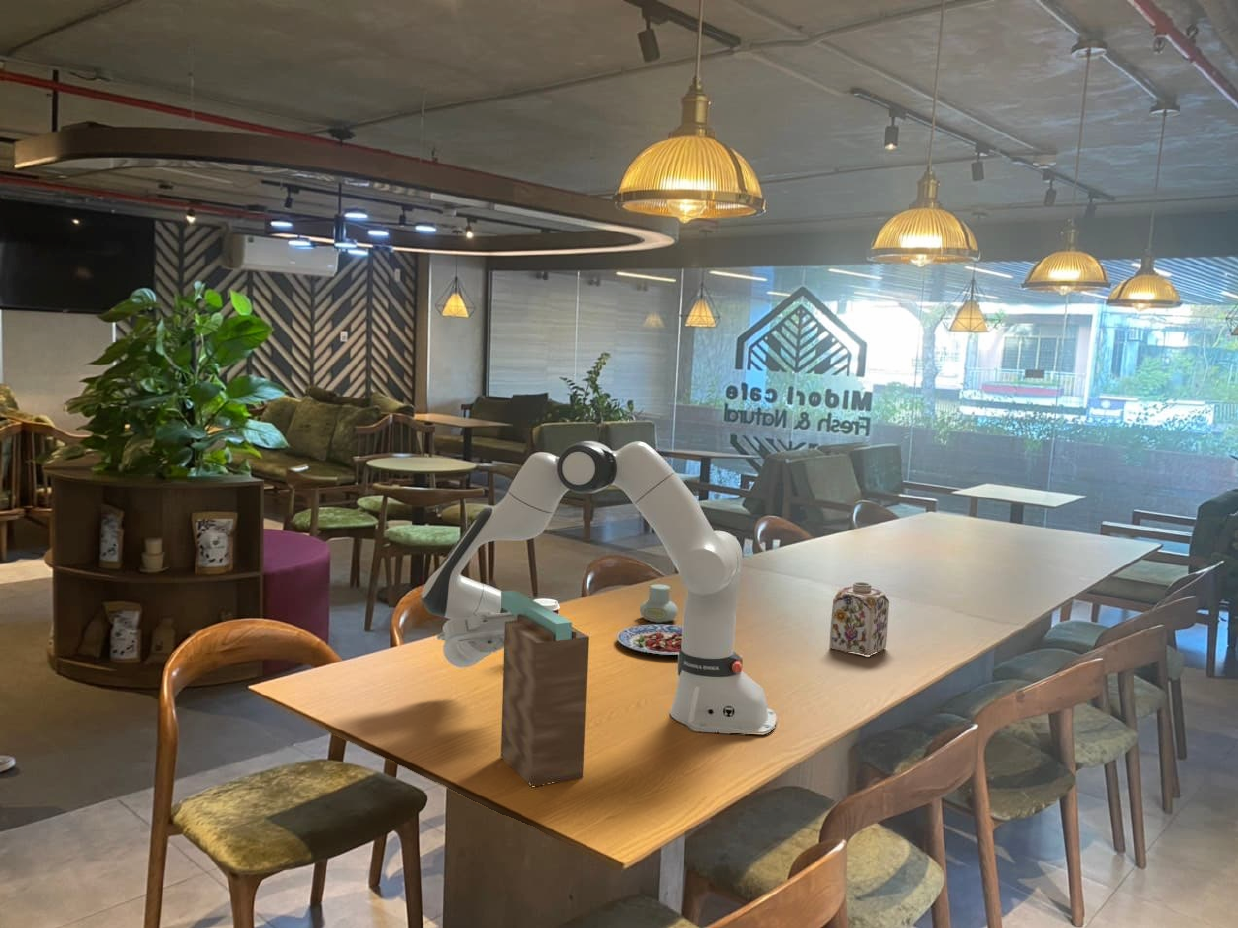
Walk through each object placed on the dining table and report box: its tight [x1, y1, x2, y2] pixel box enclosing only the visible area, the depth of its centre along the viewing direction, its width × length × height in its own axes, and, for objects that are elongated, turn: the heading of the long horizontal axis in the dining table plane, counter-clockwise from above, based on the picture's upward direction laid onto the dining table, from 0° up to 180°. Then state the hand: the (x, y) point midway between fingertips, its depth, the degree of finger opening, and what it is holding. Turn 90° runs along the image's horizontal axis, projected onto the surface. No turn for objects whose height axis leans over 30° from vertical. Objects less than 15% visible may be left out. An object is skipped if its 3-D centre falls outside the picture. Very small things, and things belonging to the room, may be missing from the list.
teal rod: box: [501, 590, 573, 641], centre depth 178 cm, size 24×3×3 cm, turn 30°
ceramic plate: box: [616, 624, 682, 656], centre depth 254 cm, size 26×26×3 cm
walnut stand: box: [500, 614, 590, 786], centre depth 175 cm, size 14×10×27 cm
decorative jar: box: [828, 581, 890, 655], centre depth 258 cm, size 12×12×18 cm
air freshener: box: [639, 584, 679, 624], centre depth 278 cm, size 11×8×10 cm
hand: (506, 615), depth 190 cm, fingers open, 8 cm apart
